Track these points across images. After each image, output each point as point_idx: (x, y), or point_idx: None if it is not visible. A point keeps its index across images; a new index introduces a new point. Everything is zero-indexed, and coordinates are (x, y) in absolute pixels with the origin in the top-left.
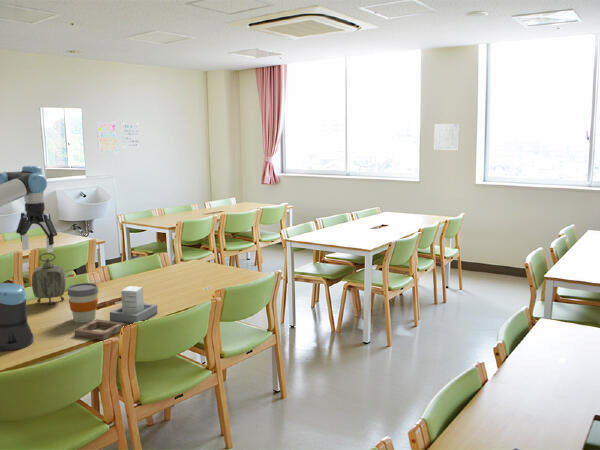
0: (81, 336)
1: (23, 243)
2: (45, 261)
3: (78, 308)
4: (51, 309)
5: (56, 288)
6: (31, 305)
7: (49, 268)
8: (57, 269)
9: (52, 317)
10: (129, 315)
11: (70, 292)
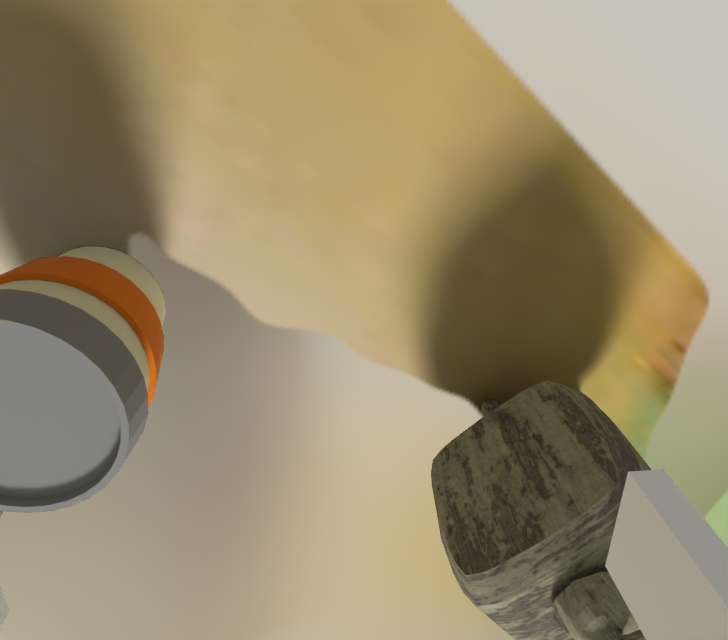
0: None
1: (718, 599)
2: (629, 634)
3: (14, 269)
4: (417, 348)
5: (460, 474)
6: (575, 353)
7: (563, 584)
8: (499, 598)
9: (302, 252)
10: None
11: (14, 307)
